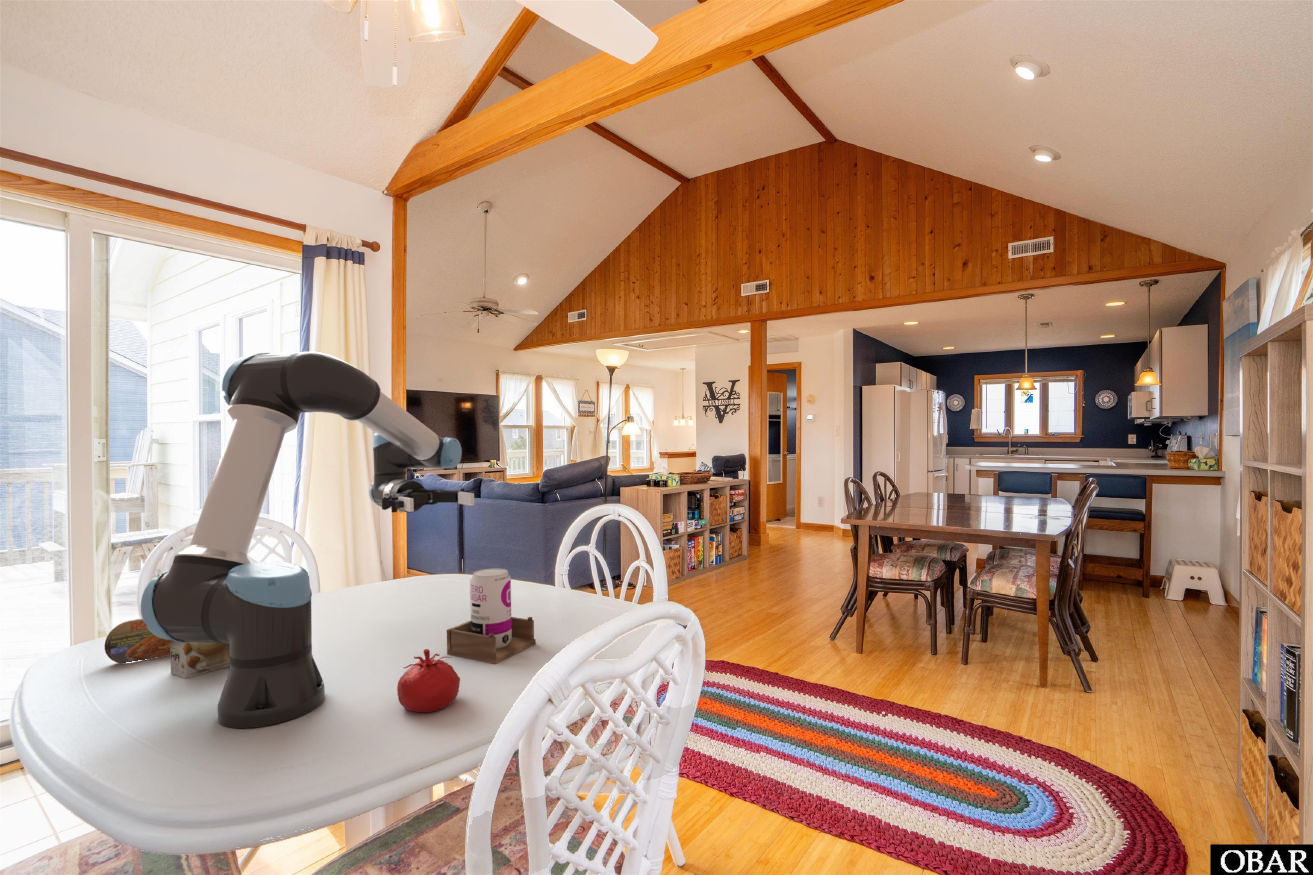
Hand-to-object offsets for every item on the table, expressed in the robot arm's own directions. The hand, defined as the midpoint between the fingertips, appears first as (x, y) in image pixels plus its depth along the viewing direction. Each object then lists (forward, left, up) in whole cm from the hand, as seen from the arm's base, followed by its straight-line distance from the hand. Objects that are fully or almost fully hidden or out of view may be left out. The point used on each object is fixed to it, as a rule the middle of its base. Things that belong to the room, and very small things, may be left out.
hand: (443, 502), depth 137 cm
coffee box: (-32, +31, -30) cm, 54 cm away
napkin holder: (0, -13, -30) cm, 33 cm away
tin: (-33, +48, -30) cm, 66 cm away
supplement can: (0, -13, -29) cm, 32 cm away
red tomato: (-25, -22, -30) cm, 45 cm away
